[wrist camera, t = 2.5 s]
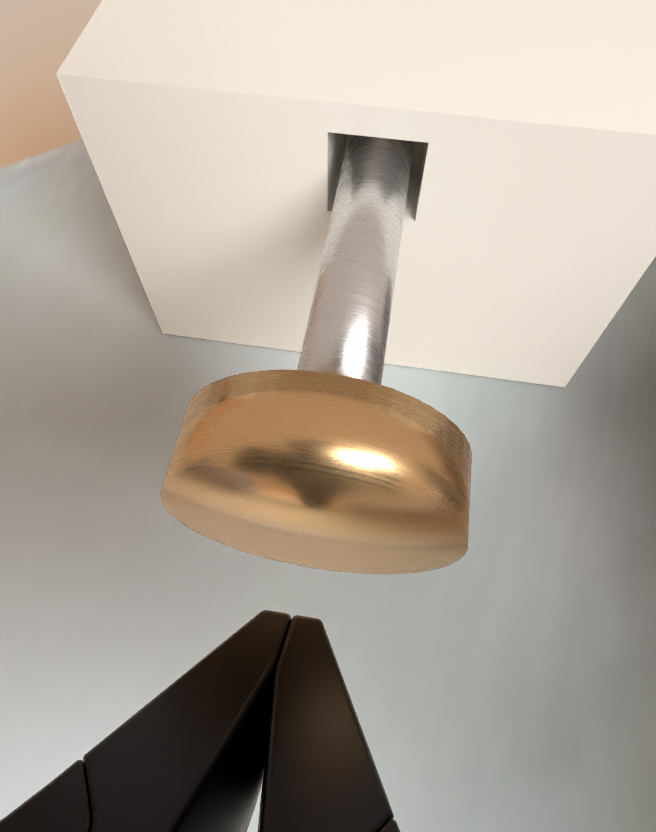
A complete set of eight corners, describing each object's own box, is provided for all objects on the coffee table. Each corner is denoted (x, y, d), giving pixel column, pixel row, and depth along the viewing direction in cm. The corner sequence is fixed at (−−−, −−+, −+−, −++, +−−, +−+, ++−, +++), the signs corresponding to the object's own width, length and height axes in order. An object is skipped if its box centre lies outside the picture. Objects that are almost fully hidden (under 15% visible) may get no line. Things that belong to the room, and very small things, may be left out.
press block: (564, 387, 20) (733, 142, 12) (162, 333, 21) (55, 73, 13) (558, 218, 23) (682, -57, 15) (217, 180, 24) (163, -98, 16)
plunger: (439, 587, 12) (506, 500, 7) (194, 548, 12) (118, 443, 8) (465, 202, 17) (513, 14, 12) (293, 182, 17) (282, -6, 13)
